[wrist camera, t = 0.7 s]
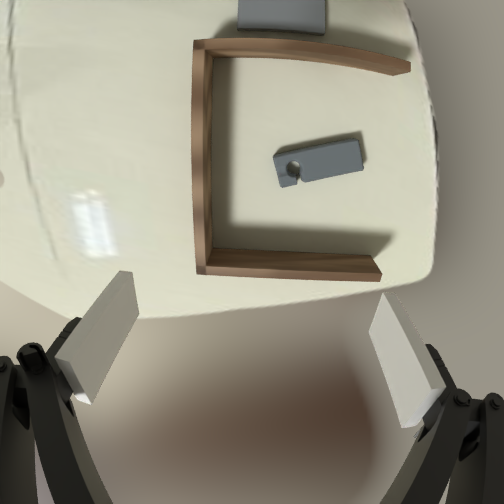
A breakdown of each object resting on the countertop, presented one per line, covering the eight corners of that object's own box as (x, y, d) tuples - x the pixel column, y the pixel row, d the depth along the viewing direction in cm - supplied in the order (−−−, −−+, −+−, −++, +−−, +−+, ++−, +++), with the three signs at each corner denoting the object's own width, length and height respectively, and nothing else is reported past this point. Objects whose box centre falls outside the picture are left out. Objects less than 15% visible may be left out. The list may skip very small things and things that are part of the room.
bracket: (359, 167, 34) (364, 170, 32) (280, 185, 35) (280, 188, 34) (354, 137, 32) (358, 138, 30) (272, 154, 34) (272, 156, 32)
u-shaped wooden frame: (203, 49, 28) (193, 40, 23) (393, 67, 27) (410, 61, 23) (204, 255, 40) (196, 274, 35) (368, 263, 39) (379, 281, 35)
